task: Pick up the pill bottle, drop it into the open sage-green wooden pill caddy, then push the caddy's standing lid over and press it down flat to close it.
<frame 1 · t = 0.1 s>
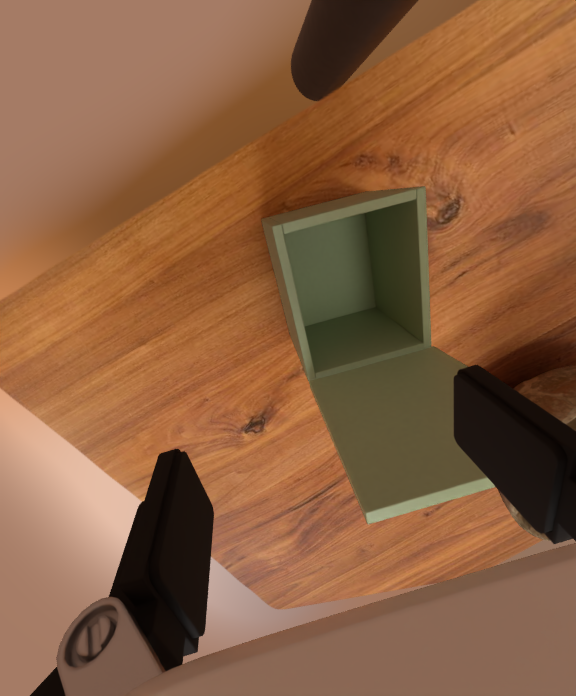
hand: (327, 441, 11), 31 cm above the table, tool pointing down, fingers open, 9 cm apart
caddy: (325, 267, 40), on the table
lid: (411, 407, 24), point 21 cm above the table, hinge at 85.0°
bowl: (520, 405, 54), on the table
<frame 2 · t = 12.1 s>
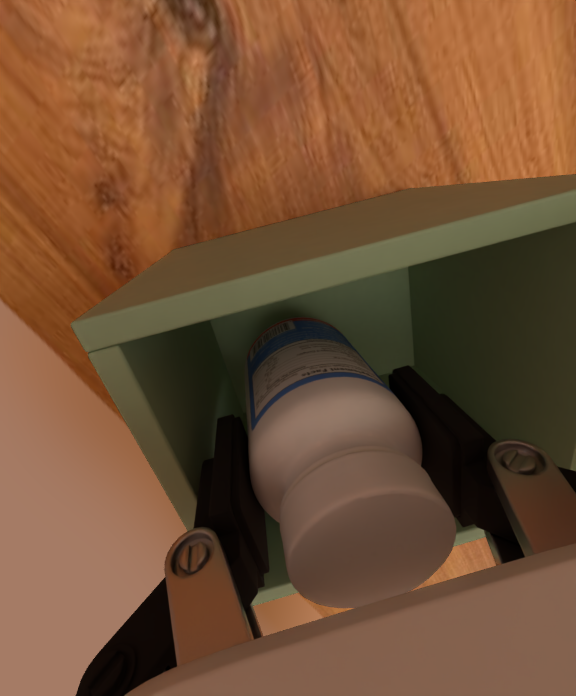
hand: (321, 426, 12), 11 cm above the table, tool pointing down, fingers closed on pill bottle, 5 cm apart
caddy: (312, 316, 22), on the table
pill bottle: (297, 362, 16), point 6 cm above the table, touching gripper
when the fingers open (13 cm above the table, at t = 21.1 s): pill bottle drops 5 cm, resting on caddy.
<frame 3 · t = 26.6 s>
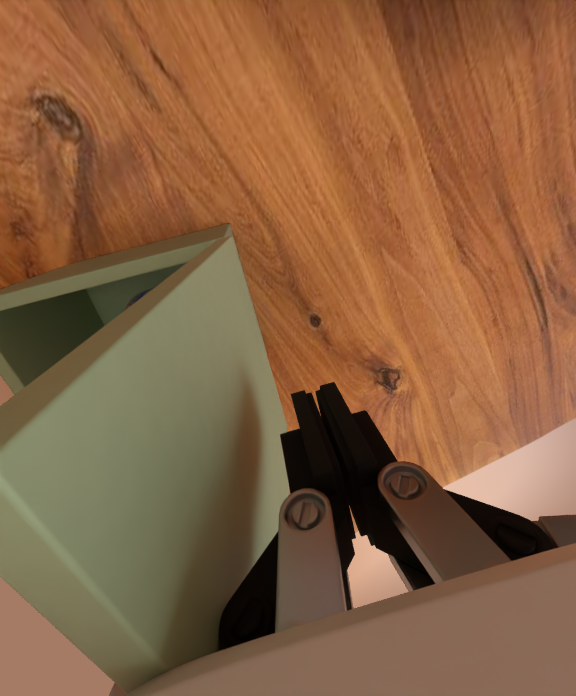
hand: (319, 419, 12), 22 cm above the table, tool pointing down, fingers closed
caddy: (176, 309, 31), on the table
lid: (243, 430, 12), point 21 cm above the table, hinge at 82.8°, touching gripper
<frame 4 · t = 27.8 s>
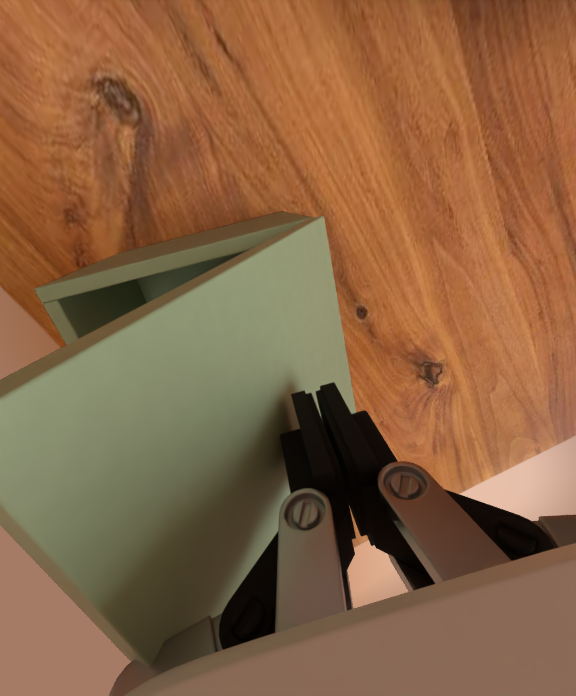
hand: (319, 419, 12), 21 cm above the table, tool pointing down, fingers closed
caddy: (223, 300, 30), on the table
lid: (287, 417, 13), point 20 cm above the table, hinge at 59.8°, touching gripper
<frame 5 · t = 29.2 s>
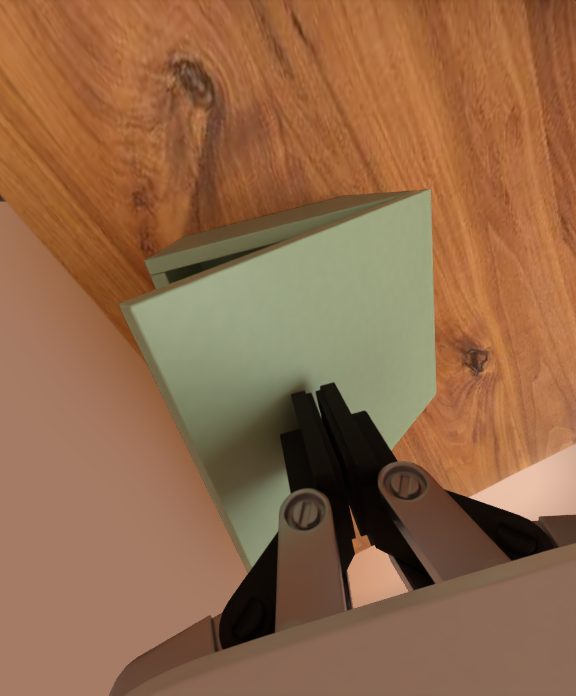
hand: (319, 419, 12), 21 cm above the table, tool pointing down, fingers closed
caddy: (280, 285, 31), on the table
lid: (351, 369, 15), point 18 cm above the table, hinge at 36.7°
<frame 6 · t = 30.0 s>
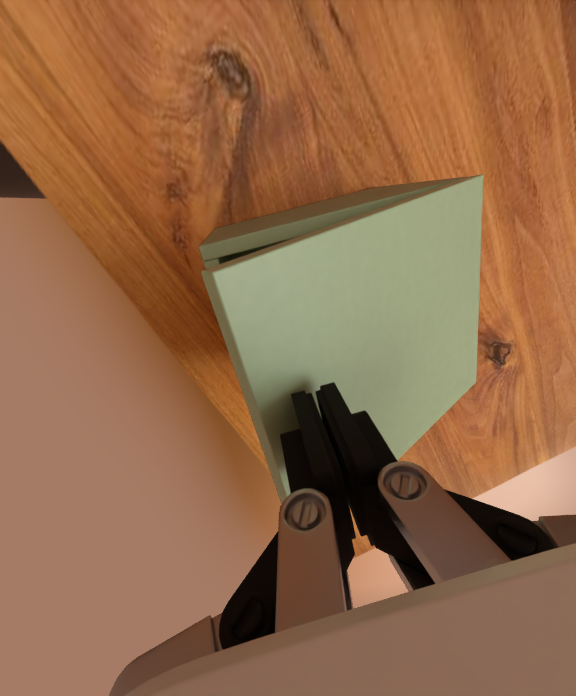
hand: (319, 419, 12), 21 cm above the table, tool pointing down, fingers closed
caddy: (309, 277, 31), on the table
lid: (392, 348, 15), point 17 cm above the table, hinge at 30.0°, touching gripper
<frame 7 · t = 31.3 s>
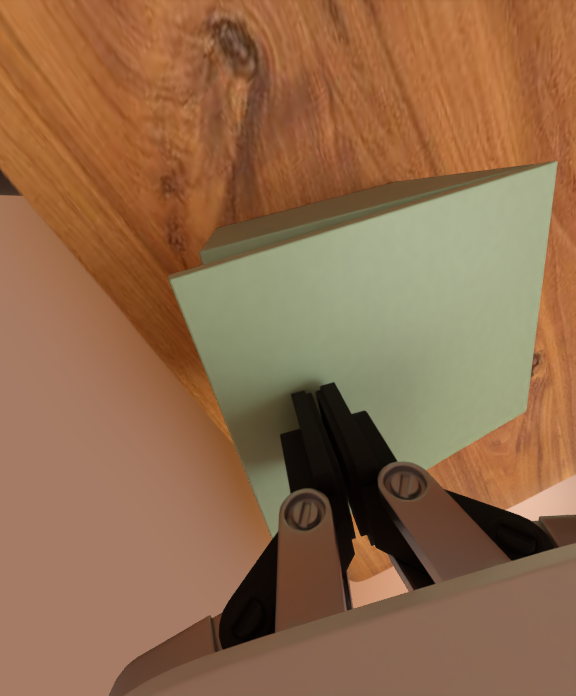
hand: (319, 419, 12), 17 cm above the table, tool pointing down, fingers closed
caddy: (322, 283, 27), on the table
lid: (404, 365, 14), point 15 cm above the table, hinge at 14.6°, touching gripper
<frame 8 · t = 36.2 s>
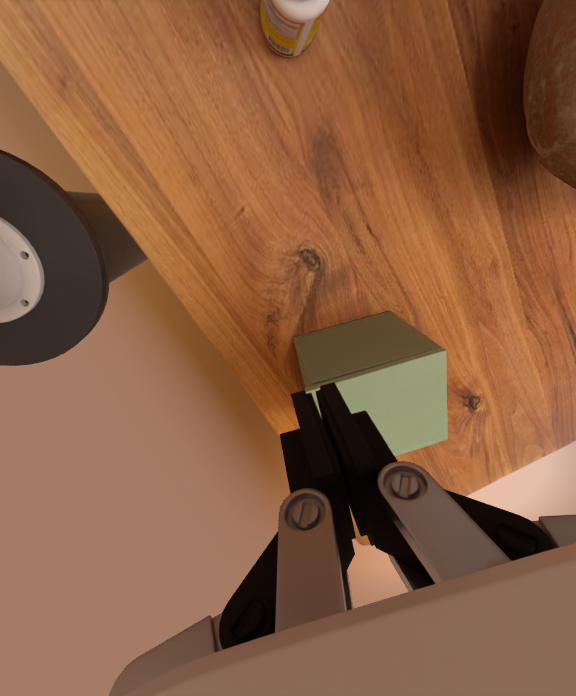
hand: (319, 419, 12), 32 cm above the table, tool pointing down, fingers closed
caddy: (348, 361, 49), on the table
supplement bottle: (286, 24, 32), on the table
lid: (381, 415, 36), point 14 cm above the table, hinge at 1.8°
bowl: (569, 77, 37), on the table
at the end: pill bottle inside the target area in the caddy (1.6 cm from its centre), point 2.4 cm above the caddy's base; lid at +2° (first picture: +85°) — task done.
